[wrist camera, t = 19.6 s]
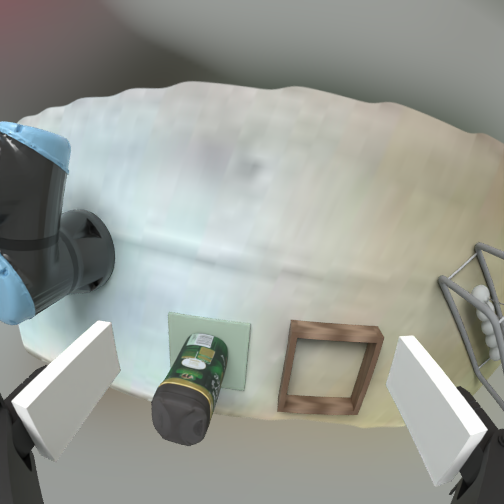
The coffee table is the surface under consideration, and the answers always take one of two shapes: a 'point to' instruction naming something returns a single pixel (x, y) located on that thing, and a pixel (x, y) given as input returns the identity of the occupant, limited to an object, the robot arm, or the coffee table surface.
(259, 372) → the coffee table surface
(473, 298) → the newton's cradle
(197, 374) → the coffee jar
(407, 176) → the coffee table surface
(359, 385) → the walnut caddy
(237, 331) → the sage mat
